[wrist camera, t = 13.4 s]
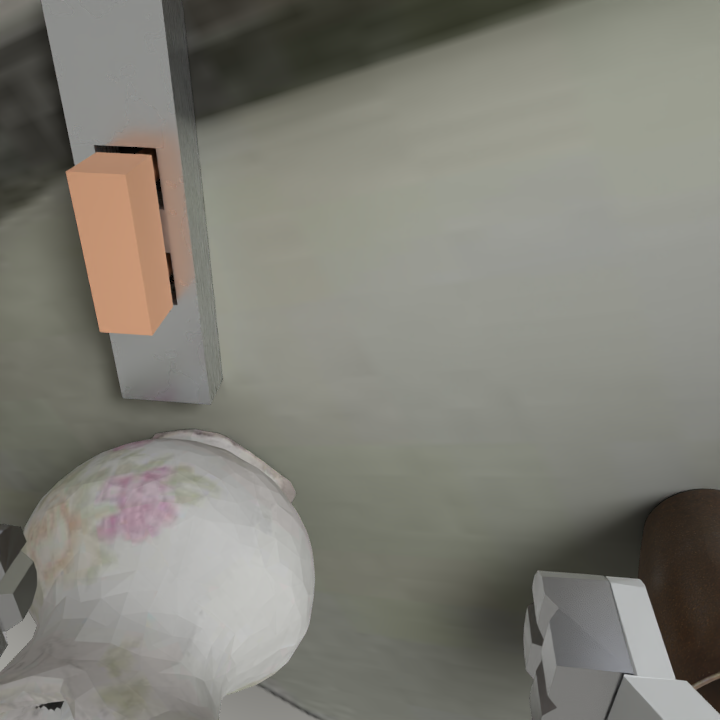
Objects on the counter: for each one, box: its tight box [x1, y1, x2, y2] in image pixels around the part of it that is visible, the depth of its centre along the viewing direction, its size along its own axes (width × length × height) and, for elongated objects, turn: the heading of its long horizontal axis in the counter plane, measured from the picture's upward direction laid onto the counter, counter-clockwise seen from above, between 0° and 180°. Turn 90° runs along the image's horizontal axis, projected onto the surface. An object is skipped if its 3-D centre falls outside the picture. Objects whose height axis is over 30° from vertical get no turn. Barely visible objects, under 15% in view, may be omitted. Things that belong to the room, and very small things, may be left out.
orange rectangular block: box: [66, 148, 173, 336], centre depth 38 cm, size 9×3×7 cm, turn 179°
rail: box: [41, 0, 223, 405], centre depth 40 cm, size 24×6×3 cm, turn 179°
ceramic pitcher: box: [0, 429, 315, 720], centre depth 43 cm, size 22×20×25 cm
